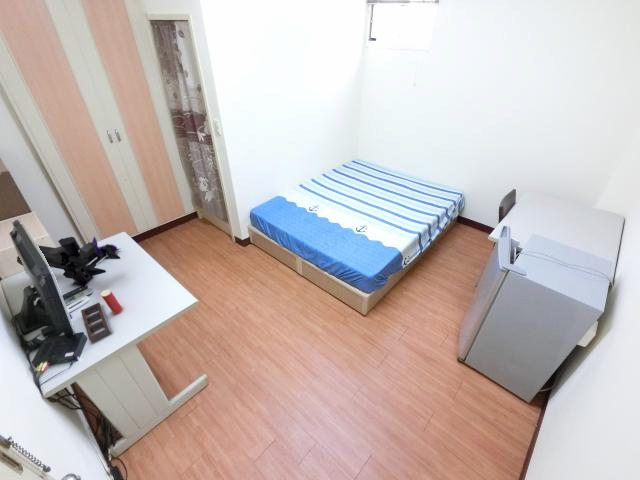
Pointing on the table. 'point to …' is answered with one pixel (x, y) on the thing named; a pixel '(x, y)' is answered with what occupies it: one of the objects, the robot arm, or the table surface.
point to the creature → (98, 249)
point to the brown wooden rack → (97, 325)
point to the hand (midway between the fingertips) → (113, 264)
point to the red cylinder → (111, 301)
